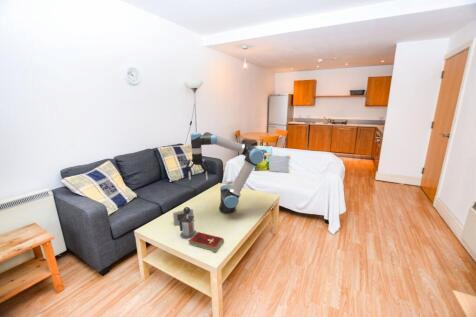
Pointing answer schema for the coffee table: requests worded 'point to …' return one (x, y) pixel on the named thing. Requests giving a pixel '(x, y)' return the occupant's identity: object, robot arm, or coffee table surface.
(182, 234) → the trivet
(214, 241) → the hardcover book
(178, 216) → the digital clock
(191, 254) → the coffee table surface
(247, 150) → the robot arm
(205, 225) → the coffee table surface
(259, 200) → the coffee table surface
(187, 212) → the ball knob lever
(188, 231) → the grey blocky piece
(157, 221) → the coffee table surface
